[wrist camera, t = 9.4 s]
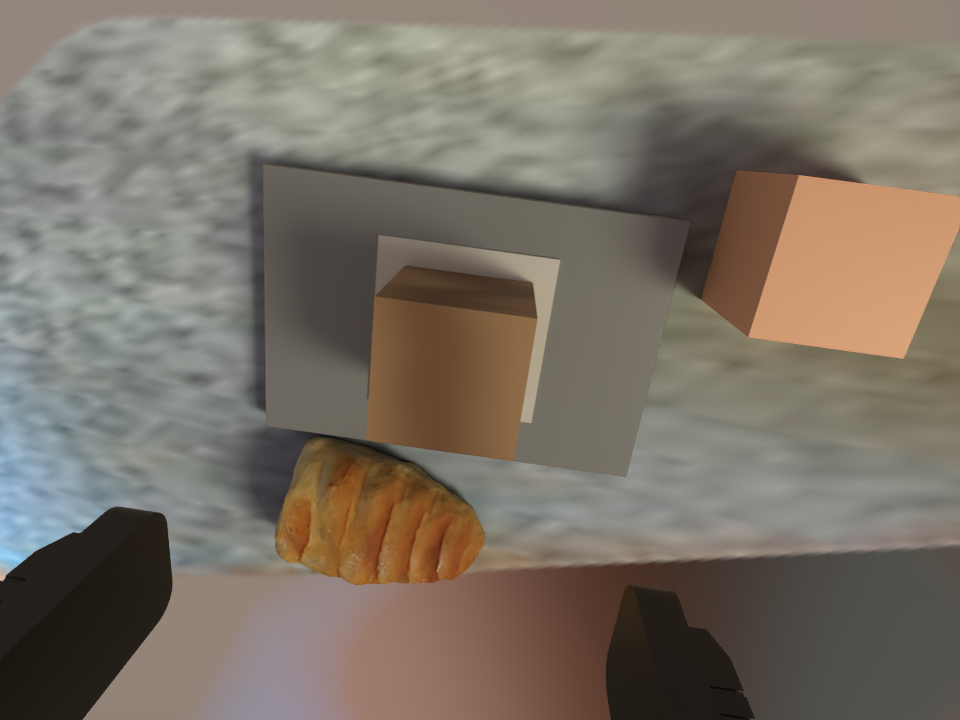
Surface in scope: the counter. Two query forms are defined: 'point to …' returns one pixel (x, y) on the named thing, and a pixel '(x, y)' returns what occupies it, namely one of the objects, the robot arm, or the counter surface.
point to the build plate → (478, 251)
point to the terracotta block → (829, 260)
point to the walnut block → (450, 361)
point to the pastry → (373, 518)
